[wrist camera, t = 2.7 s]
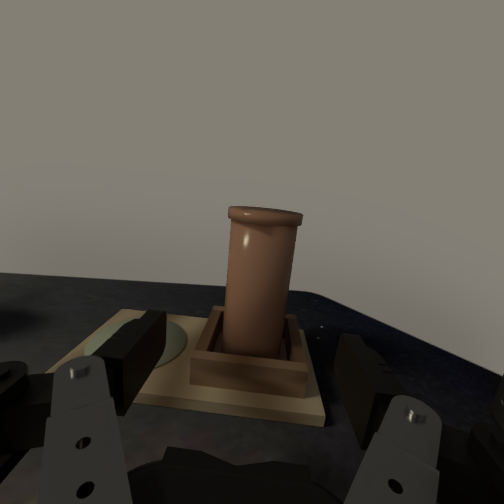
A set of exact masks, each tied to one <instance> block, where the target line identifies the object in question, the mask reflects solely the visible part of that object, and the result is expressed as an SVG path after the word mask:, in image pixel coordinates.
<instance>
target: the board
mask: <svg viewBox="0 0 504 504" xmlns="http://www.w3.org/2000/svg"><path fill="white" fill-rule="evenodd" d="M224 309H225V307H222V306H214V307H213V309H212V311H211V314H210V316H209V318H208V319H206V318H198V317H189V316H181V315H172V314H167V329H166V346H165V350H164V353H163V355H162V357H161V358H160V360H159V362H158V363H157V365H156V366H155V368H154V369H153V371H152V373H151V374H150V376H149V377H148V379H147V380H146V382H145V384H144V385H143V387H142V388H141V390H140V392H139V393H138V395H137V396H136V398H135V399H134V401H133V403H139V404H147V405H155V406H163V407H170V408H178V409H186V410H194V411H202V412H210V413H217V414H225V415H233V416H241V417H249V418H256V419H264V420H272V421H280V422H288V423H296V424H303V425H311V426H319V427H323V426H324V422H325V417H326V416H325V412H324V408H323V404H322V400H321V396H320V393H319V389H318V385H317V381H316V377H315V373H314V369H313V365H312V362H311V358H310V354H309V350H308V346H307V342H306V338H305V335H304V331H303V330H301V329H299V327H298V323H297V319H296V315H291V314H285V319H284V327H283V334H282V341H281V348H280V355H279V360H275V359H267V358H258V357H250V356H242V355H233V354H225V353H221V348H222V335H223V322H224ZM145 312H146V311H138V310H129V309H122V310H120V311H119V312H118V313H117V314H116V315H114V316H113V317H112V318H111V319H110V320H108V321H107V322H106V323H105V324H103V325H102V326H101V327H100V328H99V329H97V330H96V331H95V332H94V333H93V334H91V335H90V336H89V337H88V338H87V339H85V340H84V341H83V342H82V343H81V344H79V345H78V346H77V347H76V348H75V349H73V350H72V351H71V352H70V353H68V354H67V355H66V356H65V357H64V358H62V359H61V360H60V361H59V362H58V363H56V364H55V365H54V366H53V367H52V368H50V369H49V370H48V371H47V372H46V373H53V372H55V371H56V370H57V368H58V367H59V366H61V365H62V364H63V363H65V362H67V361H69V360H71V359H74V358H77V357H81V356H87V355H91V354H92V353H93V352H95V351H96V350H97V349H98V348H99V347H100V346H101V345H102V344H103V343H104V342H105V341H106V340H107V339H108V338H111V336H112V335H113V334H114V333H115V332H117V330H118V329H119V328H120V327H121V326H122V325H124V324H125V323H127V322H129V321H131V320H133V319H139V318H140V317H141V316H142V315H143V314H144V313H145Z"/></svg>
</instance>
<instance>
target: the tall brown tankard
mask: <svg viewBox="0 0 504 504" xmlns="http://www.w3.org/2000/svg"><path fill="white" fill-rule="evenodd" d="M228 218H230V219H231V231H230V245H229V257H228V270H227V283H226V296H225V309H224V322H223V335H222V348H221V353H225V354H233V355H242V356H250V357H258V358H267V359H275V360H279V355H280V348H281V341H282V334H283V327H284V319H285V312H286V305H287V298H288V291H289V283H290V277H291V270H292V262H293V254H294V248H295V241H296V234H297V227H298V226H300V225H301V224H302V218H303V215H302V214H301V213H297V212H292V211H286V210H279V209H270V208H261V207H248V206H231V207H229V210H228Z"/></svg>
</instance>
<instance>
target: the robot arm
mask: <svg viewBox="0 0 504 504" xmlns="http://www.w3.org/2000/svg"><path fill="white" fill-rule="evenodd" d="M166 329H167V313H166V311H160V310H151V309H149V310H147V311H146V312H145V313H144V314H143V315H142V316H141V317H140V318H139V319H133V320H131V321H129V322H127V323H125V324H124V325H122V326H121V327H120V328H119V329H118V330H117V332H115V333H114V334H113V335H112V336H111V338H108V339H107V340H106V341H105V342H104V343H103V344H102V345H101V346H100V347H99V348H98V349H97V350H96V351H95V352H93V353H92V354H91V355H87V356H81V357H77V358H74V359H71V360H69V361H67V362H65V363H63V364H62V365H61V366H59V367H58V368H57V370H56V371H55V372H53V373H43V374H33V375H29V373H28V366H27V364H26V363H24V362H20V361H8V362H2V363H0V484H1V482H2V481H3V480H4V479H5V478H6V477H7V475H8V474H9V473H10V472H11V471H12V470H13V468H14V467H15V466H16V465H17V464H18V462H19V461H20V460H21V459H22V458H23V457H24V455H25V454H26V453H27V452H28V451H29V450H30V448H36V447H42V446H44V449H43V459H42V469H41V480H40V490H39V500H38V504H436V502H437V503H440V504H504V375H503V377H502V380H501V382H500V385H499V387H498V390H497V393H496V395H495V398H494V400H493V403H492V412H493V415H494V418H495V419H496V421H497V422H498V424H499V425H500V427H501V428H502V429H501V428H499V427H497V426H494V425H492V424H488V423H483V422H478V423H475V424H474V425H473V427H472V429H471V432H470V433H467V432H464V431H461V430H459V429H456V428H453V427H450V426H448V425H445V424H442V422H441V420H440V418H439V416H438V415H437V414H436V413H435V412H434V411H433V410H432V409H431V408H430V407H429V406H427V405H426V404H424V403H423V402H421V401H419V400H417V399H415V398H412V397H410V396H409V395H408V394H407V392H406V391H405V389H404V388H403V386H402V385H401V384H400V382H399V381H398V379H397V378H396V376H395V375H394V374H392V371H391V369H390V368H389V366H387V363H386V362H385V361H384V359H383V358H382V356H381V355H379V354H378V353H377V352H376V351H374V350H373V349H372V348H367V346H366V345H365V343H364V341H363V340H362V338H361V337H360V336H359V335H353V334H345V333H342V334H341V335H340V337H339V342H338V347H337V351H336V356H335V361H334V377H335V380H336V383H337V385H338V388H339V391H340V394H341V396H342V399H343V402H344V405H345V407H346V410H347V413H348V416H349V418H350V421H351V424H352V426H353V429H354V432H355V435H356V437H357V440H358V443H359V446H360V448H361V450H367V451H366V454H365V456H364V458H363V460H362V463H361V465H360V467H359V470H358V472H357V474H356V476H355V479H354V481H353V483H352V485H351V488H350V490H349V492H348V495H347V497H346V499H345V501H344V503H343V502H342V501H341V500H340V499H338V498H337V497H336V496H335V495H334V494H333V493H331V492H330V491H328V490H327V489H326V488H324V487H322V486H321V485H319V484H317V483H315V482H313V481H311V479H310V473H309V466H306V465H299V464H291V463H284V462H277V461H270V462H263V463H255V464H248V465H241V466H236V465H232V464H230V463H228V462H225V461H223V460H221V459H219V458H216V457H214V456H212V455H209V454H207V453H205V452H202V451H197V450H190V449H182V448H175V447H168V446H167V449H166V451H165V454H164V456H163V459H162V460H157V461H153V462H150V463H146V464H144V465H141V466H138V467H136V468H134V469H132V470H130V471H129V472H127V470H126V464H125V459H124V454H123V448H122V443H121V438H120V432H119V427H118V421H117V416H124V415H125V414H126V412H127V410H128V409H129V407H130V406H131V404H132V403H133V401H134V399H135V398H136V396H137V395H138V393H139V392H140V390H141V388H142V387H143V385H144V384H145V382H146V380H147V379H148V377H149V376H150V374H151V373H152V371H153V369H154V368H155V366H156V365H157V363H158V362H159V360H160V358H161V357H162V355H163V353H164V350H165V346H166ZM116 415H117V416H116Z"/></svg>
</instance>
